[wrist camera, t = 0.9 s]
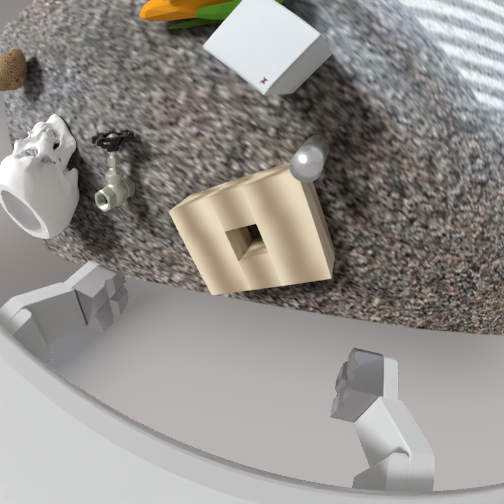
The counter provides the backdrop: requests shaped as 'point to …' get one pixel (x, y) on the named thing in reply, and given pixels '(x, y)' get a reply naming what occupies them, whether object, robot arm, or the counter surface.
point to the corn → (189, 11)
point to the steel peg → (309, 159)
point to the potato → (12, 70)
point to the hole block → (269, 224)
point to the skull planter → (41, 180)
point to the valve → (114, 171)
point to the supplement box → (268, 46)
